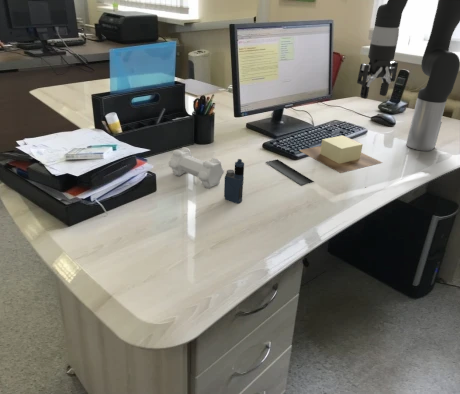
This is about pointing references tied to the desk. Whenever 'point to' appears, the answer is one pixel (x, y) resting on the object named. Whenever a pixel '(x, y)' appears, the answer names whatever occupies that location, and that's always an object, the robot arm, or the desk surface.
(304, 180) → the mat
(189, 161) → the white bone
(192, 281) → the desk surface
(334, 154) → the memo block
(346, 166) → the brown cloth
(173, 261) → the desk surface
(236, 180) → the vaping device
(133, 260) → the desk surface
